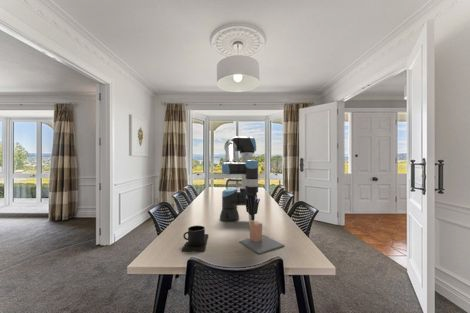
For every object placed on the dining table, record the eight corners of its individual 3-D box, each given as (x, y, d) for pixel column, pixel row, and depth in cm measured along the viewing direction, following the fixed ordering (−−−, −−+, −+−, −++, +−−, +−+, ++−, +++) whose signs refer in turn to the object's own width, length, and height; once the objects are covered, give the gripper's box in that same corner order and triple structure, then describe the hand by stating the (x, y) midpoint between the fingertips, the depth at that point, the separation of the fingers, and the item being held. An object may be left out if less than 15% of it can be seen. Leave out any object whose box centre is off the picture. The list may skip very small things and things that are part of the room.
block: (249, 239, 133) (250, 222, 133) (256, 237, 136) (256, 221, 136) (255, 242, 129) (255, 225, 129) (261, 240, 132) (262, 223, 132)
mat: (239, 242, 131) (239, 240, 131) (263, 236, 141) (263, 234, 141) (259, 254, 116) (259, 252, 116) (284, 246, 126) (284, 244, 126)
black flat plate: (176, 253, 118) (204, 252, 119) (176, 252, 118) (204, 250, 119) (185, 235, 143) (208, 234, 144) (185, 234, 143) (208, 233, 144)
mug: (184, 240, 133) (184, 225, 133) (205, 240, 134) (205, 225, 134) (182, 247, 124) (182, 231, 123) (204, 247, 124) (204, 230, 124)
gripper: (240, 184, 139) (240, 223, 139) (253, 187, 128) (253, 229, 128) (250, 184, 143) (250, 221, 143) (263, 186, 132) (263, 226, 132)
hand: (251, 224), depth 136 cm, fingers closed
